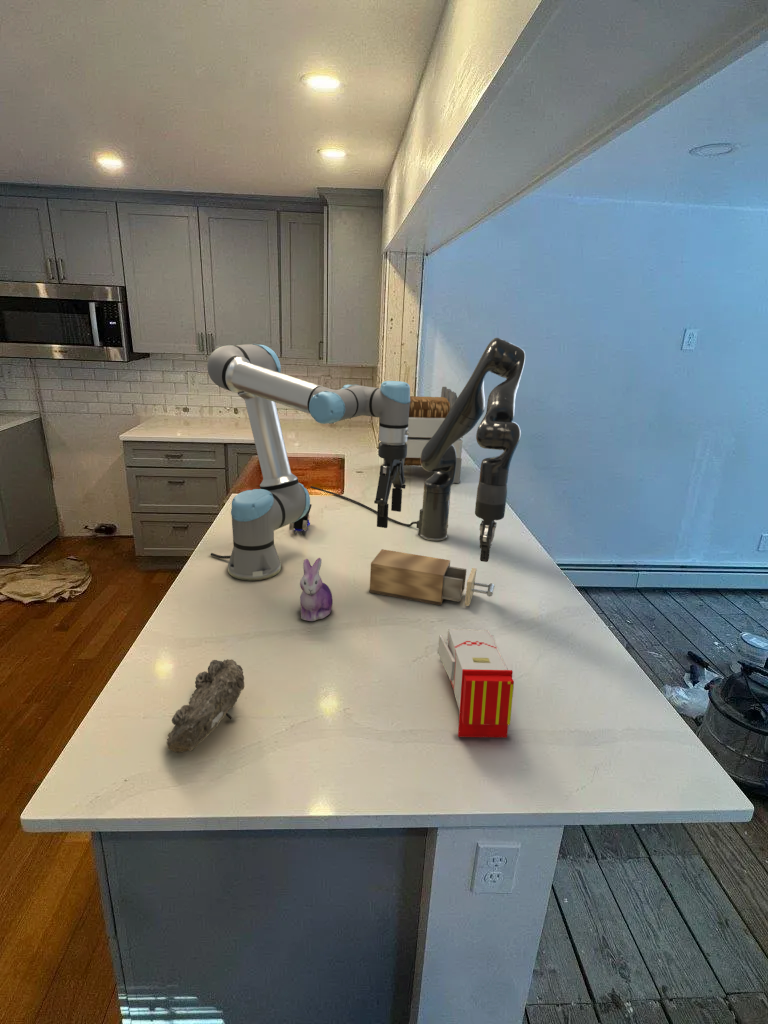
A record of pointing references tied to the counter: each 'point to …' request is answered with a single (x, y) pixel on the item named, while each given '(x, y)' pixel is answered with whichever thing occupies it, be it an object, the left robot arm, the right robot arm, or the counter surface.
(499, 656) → the toy
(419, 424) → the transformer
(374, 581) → the cabinet
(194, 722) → the fossil
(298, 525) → the figurine character
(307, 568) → the figurine
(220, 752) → the counter surface
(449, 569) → the drawer
